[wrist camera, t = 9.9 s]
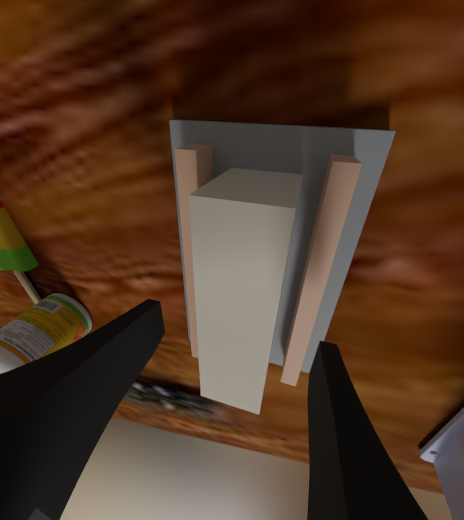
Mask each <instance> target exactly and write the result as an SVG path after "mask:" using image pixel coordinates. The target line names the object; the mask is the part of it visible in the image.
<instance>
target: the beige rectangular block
mask: <svg viewBox="0 0 464 520" xmlns="http://www.w3.org/2000/svg"><path fill="white" fill-rule="evenodd" d="M302 177H303V174H292V173H282V172H271V171H260V170H250V169H239V168H231V169H229V170H227V171H226V172H224V173H223V174H221V175H220V176H218V177H216V178H215V179H213V180H212V181H210V182H209V183H207V184H205V185H204V186H202V187H201V188H199V189H197V190H196V191H194V192H193V193H191V194H190V195H189V209H190V225H191V241H192V257H193V273H194V290H195V306H196V322H197V338H198V354H199V370H200V386H201V396H204V397H207V398H210V399H213V400H216V401H219V402H222V403H225V404H228V405H231V406H234V407H237V408H240V409H243V410H246V411H250V412H253V413H256V414H259V413H260V407H261V402H262V397H263V391H264V386H265V381H266V375H267V370H268V365H269V359H270V354H271V349H272V343H273V338H274V332H275V327H276V321H277V316H278V310H279V304H280V299H281V293H282V288H283V282H284V277H285V271H286V266H287V260H288V255H289V249H290V244H291V238H292V232H293V227H294V221H295V216H296V210H297V205H298V199H299V194H300V188H301V183H302Z"/></svg>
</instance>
